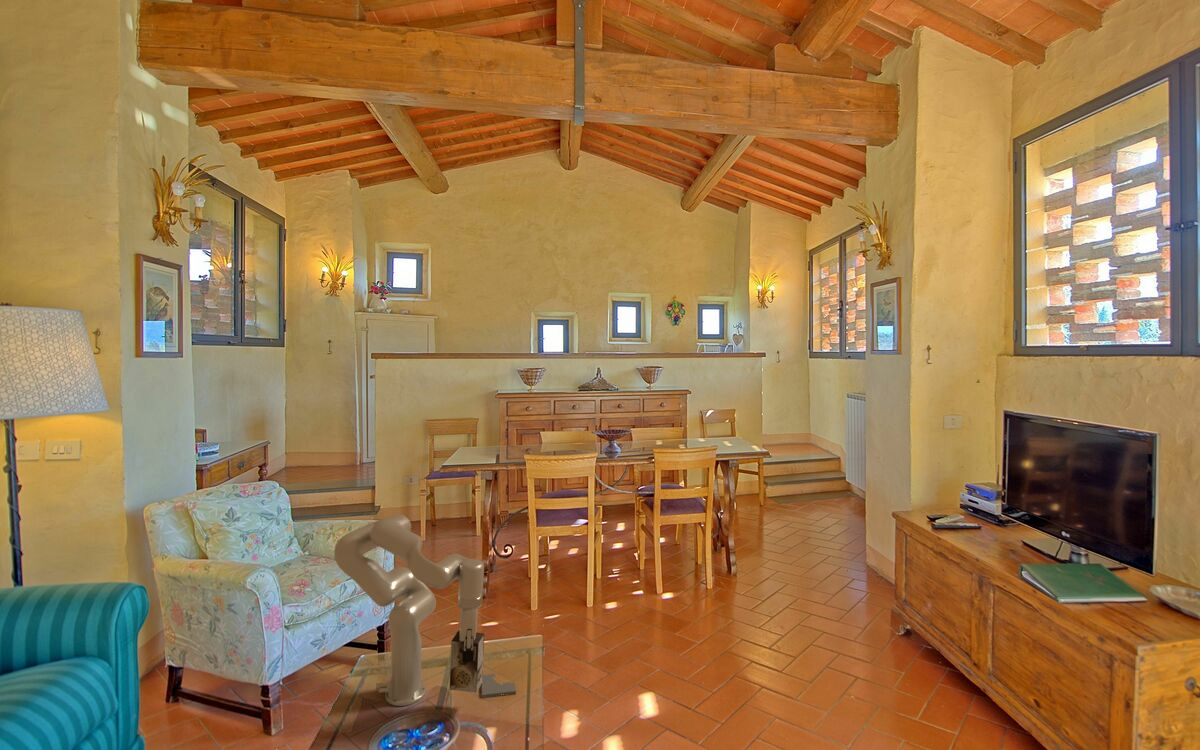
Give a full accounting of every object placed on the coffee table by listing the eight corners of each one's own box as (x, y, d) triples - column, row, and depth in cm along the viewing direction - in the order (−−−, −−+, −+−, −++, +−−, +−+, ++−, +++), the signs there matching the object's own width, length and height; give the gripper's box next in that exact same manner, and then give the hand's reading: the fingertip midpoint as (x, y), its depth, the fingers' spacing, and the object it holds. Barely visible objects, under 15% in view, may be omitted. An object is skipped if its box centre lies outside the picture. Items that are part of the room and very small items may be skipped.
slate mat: (482, 697, 180) (482, 694, 179) (481, 677, 190) (481, 675, 190) (515, 693, 182) (515, 691, 182) (512, 674, 193) (513, 671, 193)
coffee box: (483, 681, 177) (485, 632, 176) (476, 693, 170) (479, 643, 169) (455, 677, 178) (458, 629, 177) (448, 690, 171) (450, 640, 170)
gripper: (458, 588, 180) (455, 640, 181) (457, 614, 163) (454, 671, 164) (481, 587, 182) (479, 638, 183) (483, 613, 165) (480, 669, 166)
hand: (467, 653), depth 173 cm, fingers closed on coffee box, 7 cm apart
